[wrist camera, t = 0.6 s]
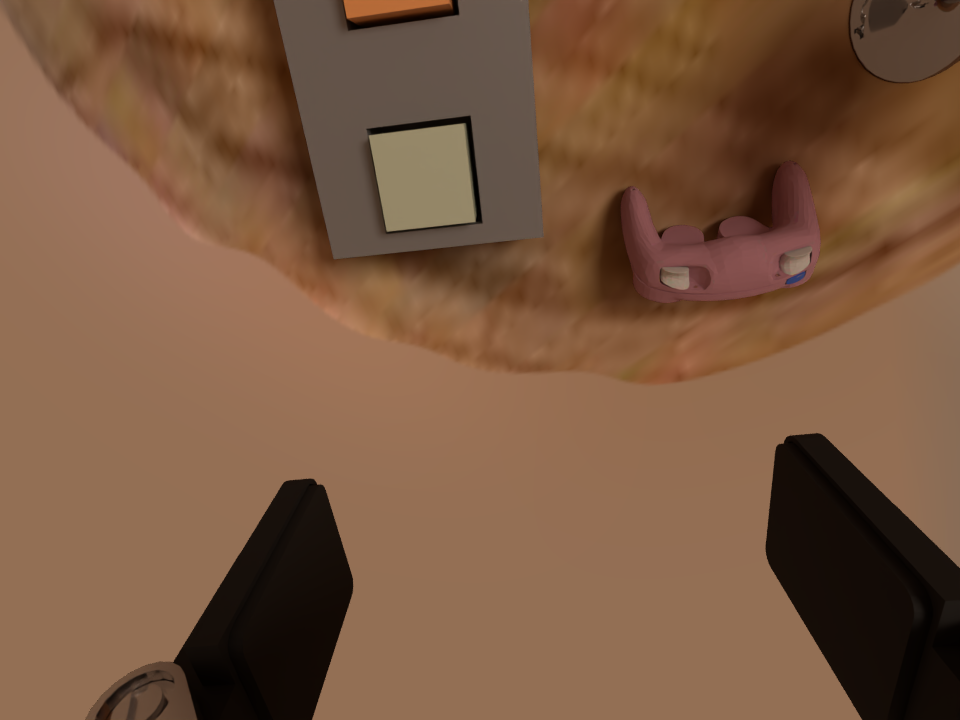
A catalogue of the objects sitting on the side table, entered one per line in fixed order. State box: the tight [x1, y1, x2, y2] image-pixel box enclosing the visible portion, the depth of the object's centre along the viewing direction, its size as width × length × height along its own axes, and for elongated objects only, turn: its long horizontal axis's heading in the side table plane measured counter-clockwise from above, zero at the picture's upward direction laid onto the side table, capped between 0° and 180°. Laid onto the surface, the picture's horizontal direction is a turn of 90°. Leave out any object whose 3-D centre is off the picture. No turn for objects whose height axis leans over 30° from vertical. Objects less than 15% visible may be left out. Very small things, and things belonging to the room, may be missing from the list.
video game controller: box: [621, 161, 821, 303], centre depth 29 cm, size 10×5×7 cm, turn 99°
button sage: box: [369, 123, 478, 232], centre depth 27 cm, size 4×4×3 cm
